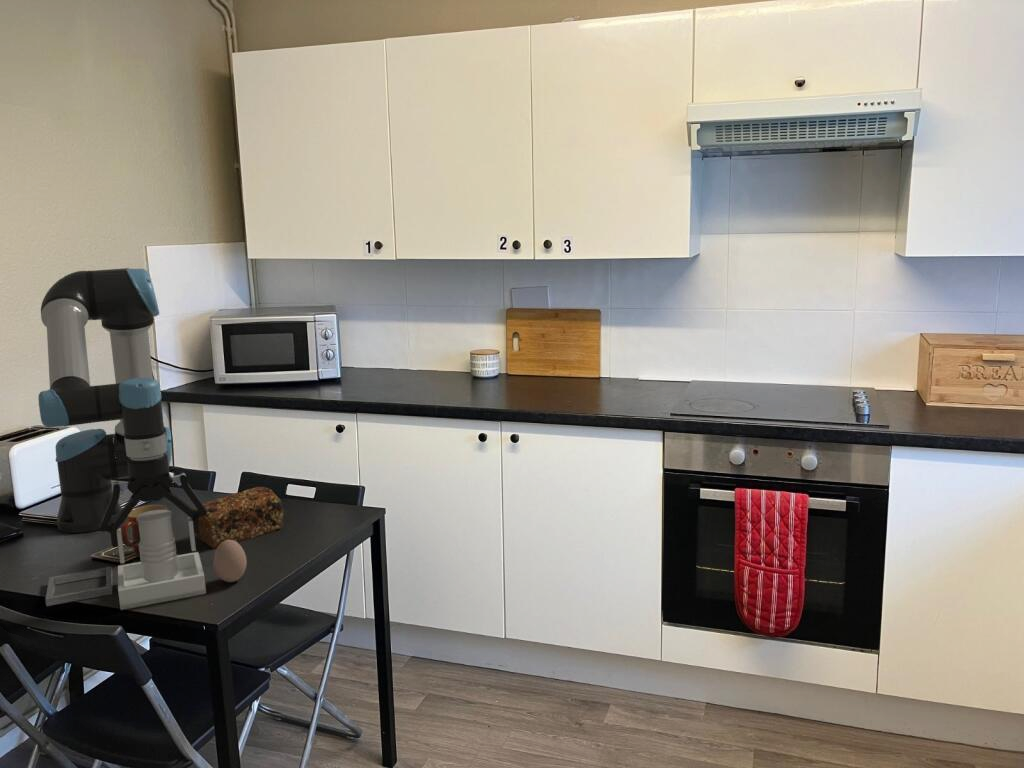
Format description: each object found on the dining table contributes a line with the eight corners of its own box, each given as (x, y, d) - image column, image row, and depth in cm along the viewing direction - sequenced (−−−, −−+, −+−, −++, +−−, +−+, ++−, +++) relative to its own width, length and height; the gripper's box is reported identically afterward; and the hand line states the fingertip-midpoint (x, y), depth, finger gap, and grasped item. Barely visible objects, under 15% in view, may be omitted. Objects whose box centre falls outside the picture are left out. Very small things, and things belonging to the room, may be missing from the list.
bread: (266, 519, 219) (262, 481, 217) (286, 530, 212) (283, 491, 210) (194, 539, 207) (189, 499, 205) (212, 551, 199) (208, 510, 197)
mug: (150, 544, 204) (145, 503, 202) (180, 548, 201) (175, 506, 199) (110, 563, 193) (105, 520, 191) (140, 568, 190) (135, 524, 188)
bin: (120, 583, 182) (117, 565, 182) (200, 569, 189) (198, 551, 188) (120, 610, 170) (118, 591, 169) (206, 593, 176) (204, 575, 175)
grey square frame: (50, 583, 183) (49, 577, 183) (112, 573, 188) (111, 566, 188) (46, 606, 173) (45, 599, 172) (112, 594, 177) (111, 587, 177)
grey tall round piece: (144, 580, 181) (136, 512, 178) (180, 575, 183) (172, 507, 180) (142, 593, 175) (134, 523, 172) (179, 587, 177) (171, 518, 174)
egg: (254, 576, 184) (250, 536, 182) (235, 589, 178) (231, 547, 176) (228, 573, 186) (224, 533, 184) (208, 585, 180) (204, 544, 178)
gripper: (77, 469, 165) (91, 573, 170) (214, 451, 175) (223, 550, 180) (78, 459, 172) (92, 559, 176) (210, 442, 182) (219, 537, 186)
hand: (158, 554), depth 178 cm, fingers open, 13 cm apart
